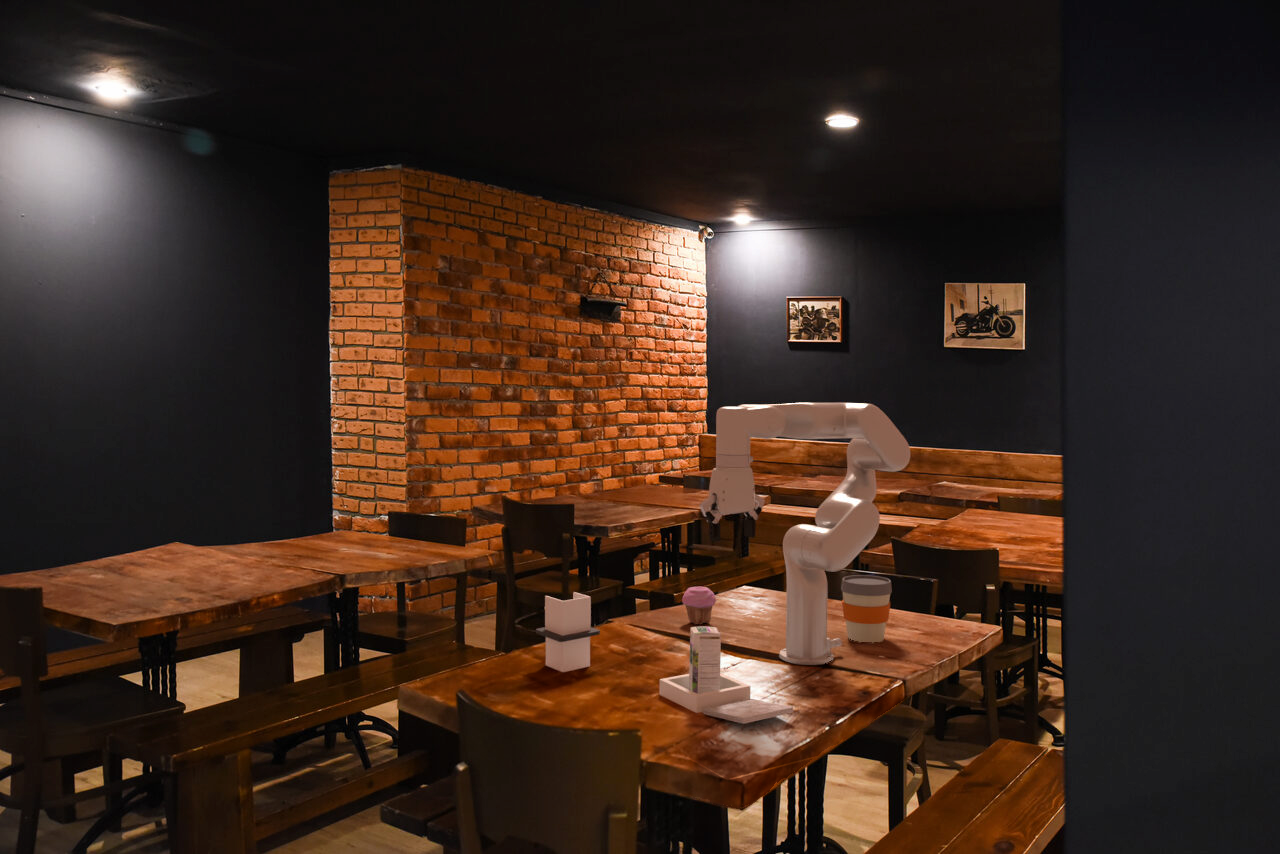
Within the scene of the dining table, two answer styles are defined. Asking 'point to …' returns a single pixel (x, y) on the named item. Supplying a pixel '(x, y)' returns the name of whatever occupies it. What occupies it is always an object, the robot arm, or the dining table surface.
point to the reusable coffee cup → (866, 606)
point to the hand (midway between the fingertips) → (732, 538)
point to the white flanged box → (568, 632)
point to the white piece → (681, 694)
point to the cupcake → (699, 604)
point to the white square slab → (747, 710)
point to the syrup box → (704, 659)
